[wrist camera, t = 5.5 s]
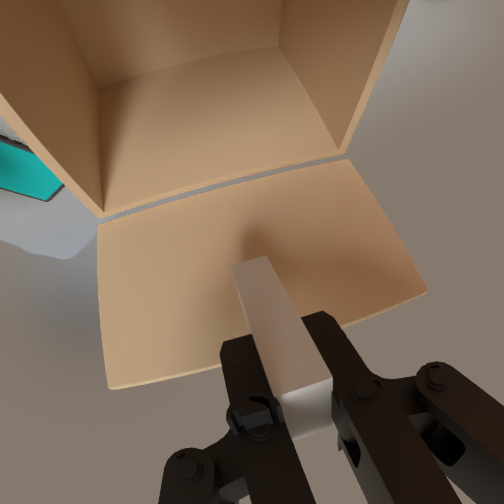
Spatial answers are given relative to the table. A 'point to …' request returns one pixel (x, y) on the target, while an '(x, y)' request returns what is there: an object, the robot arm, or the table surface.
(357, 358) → the robot arm
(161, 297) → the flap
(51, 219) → the table surface
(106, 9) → the carton
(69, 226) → the table surface
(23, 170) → the smartphone
